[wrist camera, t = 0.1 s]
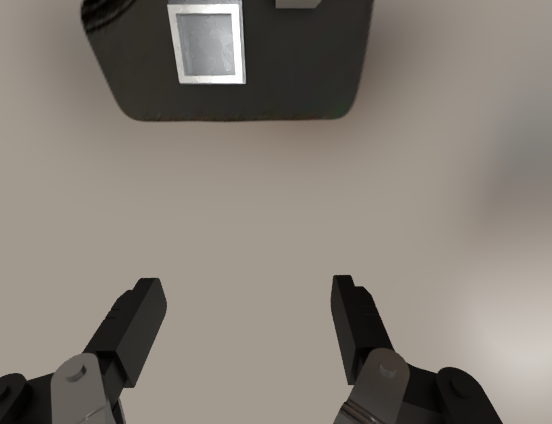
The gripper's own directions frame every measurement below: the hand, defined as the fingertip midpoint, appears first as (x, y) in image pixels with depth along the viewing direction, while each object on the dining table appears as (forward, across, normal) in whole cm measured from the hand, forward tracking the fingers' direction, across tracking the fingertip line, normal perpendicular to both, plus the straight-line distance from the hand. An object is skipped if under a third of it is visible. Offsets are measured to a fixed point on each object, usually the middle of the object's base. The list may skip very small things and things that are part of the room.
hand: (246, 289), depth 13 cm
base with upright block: (+29, +6, -15) cm, 33 cm away
